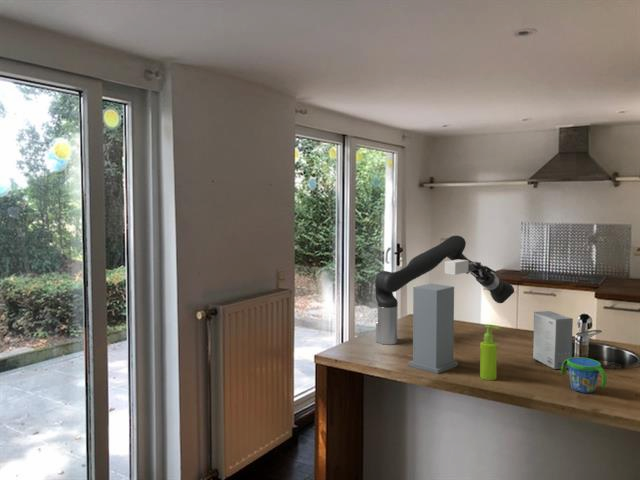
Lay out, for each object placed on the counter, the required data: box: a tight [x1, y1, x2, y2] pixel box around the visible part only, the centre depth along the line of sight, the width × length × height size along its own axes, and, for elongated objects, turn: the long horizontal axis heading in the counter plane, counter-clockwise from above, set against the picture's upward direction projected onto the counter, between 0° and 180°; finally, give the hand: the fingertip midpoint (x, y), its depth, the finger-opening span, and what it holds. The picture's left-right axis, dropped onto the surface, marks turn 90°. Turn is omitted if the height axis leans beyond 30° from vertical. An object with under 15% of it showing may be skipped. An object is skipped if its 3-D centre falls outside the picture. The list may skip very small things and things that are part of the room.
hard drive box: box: [532, 310, 574, 370], centre depth 211 cm, size 16×8×20 cm, turn 9°
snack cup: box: [560, 356, 608, 394], centre depth 182 cm, size 16×10×10 cm
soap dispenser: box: [479, 324, 501, 381], centre depth 194 cm, size 6×7×20 cm
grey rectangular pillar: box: [407, 283, 459, 375], centre depth 209 cm, size 14×14×32 cm
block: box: [444, 259, 482, 276], centre depth 222 cm, size 21×5×5 cm, turn 133°
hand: (470, 263), depth 225 cm, fingers closed on block, 4 cm apart
